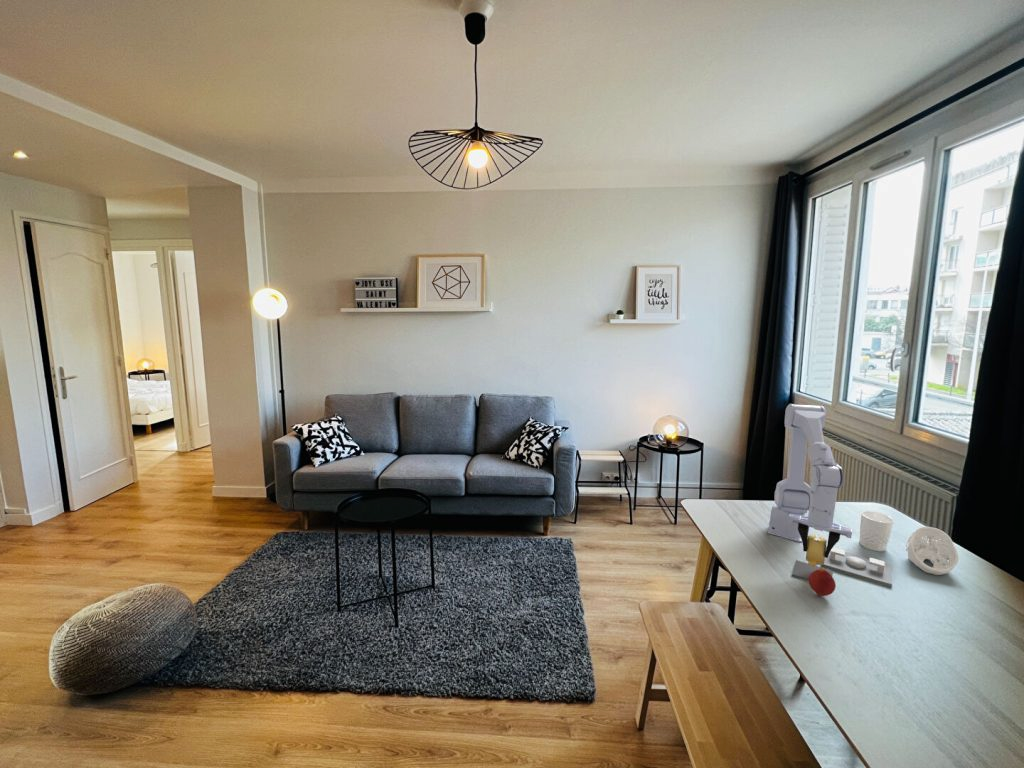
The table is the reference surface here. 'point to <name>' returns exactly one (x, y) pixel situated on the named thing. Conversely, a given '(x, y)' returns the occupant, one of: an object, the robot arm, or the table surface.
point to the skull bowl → (932, 550)
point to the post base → (859, 567)
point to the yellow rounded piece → (816, 550)
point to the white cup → (875, 530)
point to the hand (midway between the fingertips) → (815, 553)
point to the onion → (822, 582)
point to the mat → (805, 570)
